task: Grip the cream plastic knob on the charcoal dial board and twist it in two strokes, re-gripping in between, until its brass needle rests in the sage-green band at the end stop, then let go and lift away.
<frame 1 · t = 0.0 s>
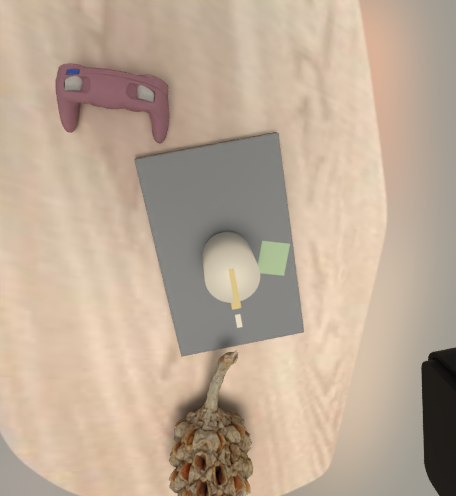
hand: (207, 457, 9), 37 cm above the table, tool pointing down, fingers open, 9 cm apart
video game controller: (118, 105, 41), on the table
pine cone: (210, 404, 52), on the table
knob: (232, 281, 42), point 5 cm above the table, hinge at 0.0°
dial board: (225, 248, 46), on the table
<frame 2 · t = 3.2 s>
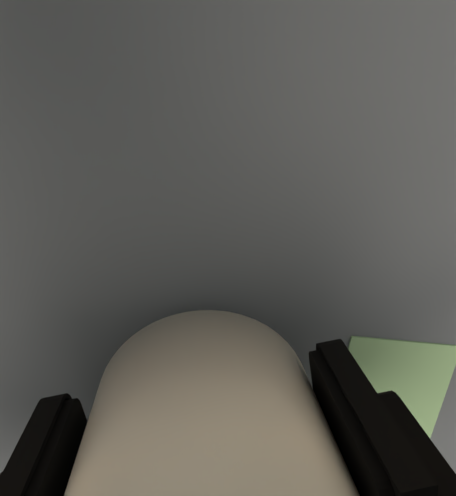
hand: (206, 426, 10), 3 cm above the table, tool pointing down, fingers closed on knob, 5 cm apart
dial board: (202, 354, 12), on the table
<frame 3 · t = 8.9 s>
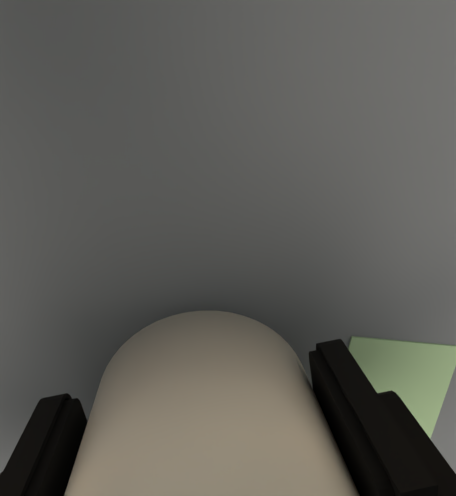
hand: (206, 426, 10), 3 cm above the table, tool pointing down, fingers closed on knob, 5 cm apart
dial board: (202, 355, 12), on the table
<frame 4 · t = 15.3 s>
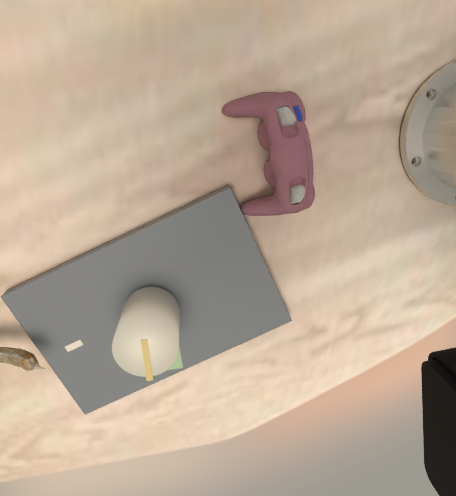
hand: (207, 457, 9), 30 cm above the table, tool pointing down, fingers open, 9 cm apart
video game controller: (263, 153, 37), on the table
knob: (151, 346, 36), point 5 cm above the table, hinge at 68.9°
dial board: (153, 302, 40), on the table
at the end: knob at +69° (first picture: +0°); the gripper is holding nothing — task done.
